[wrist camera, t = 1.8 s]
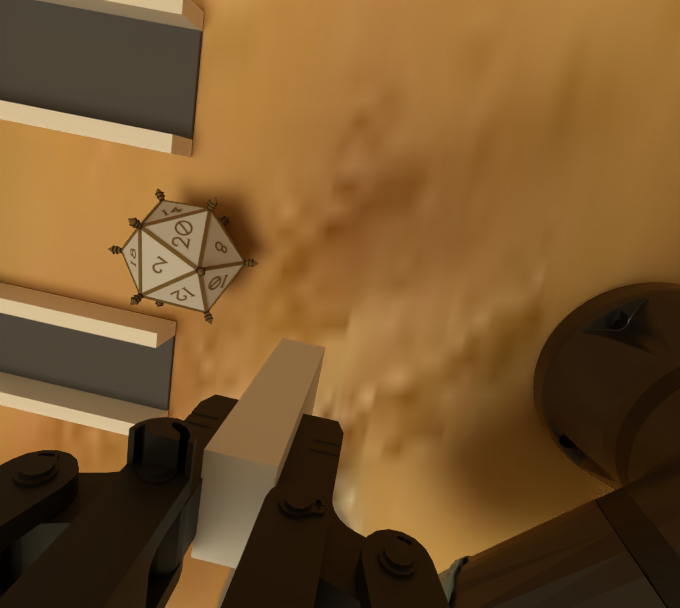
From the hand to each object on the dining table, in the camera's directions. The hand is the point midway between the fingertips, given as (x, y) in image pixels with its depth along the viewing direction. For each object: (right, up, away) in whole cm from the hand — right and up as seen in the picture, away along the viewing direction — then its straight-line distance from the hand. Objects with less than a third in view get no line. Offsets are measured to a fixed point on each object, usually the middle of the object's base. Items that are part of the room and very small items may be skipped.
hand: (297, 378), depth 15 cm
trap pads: (-18, +9, +18) cm, 28 cm away
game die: (-9, +7, +18) cm, 21 cm away
